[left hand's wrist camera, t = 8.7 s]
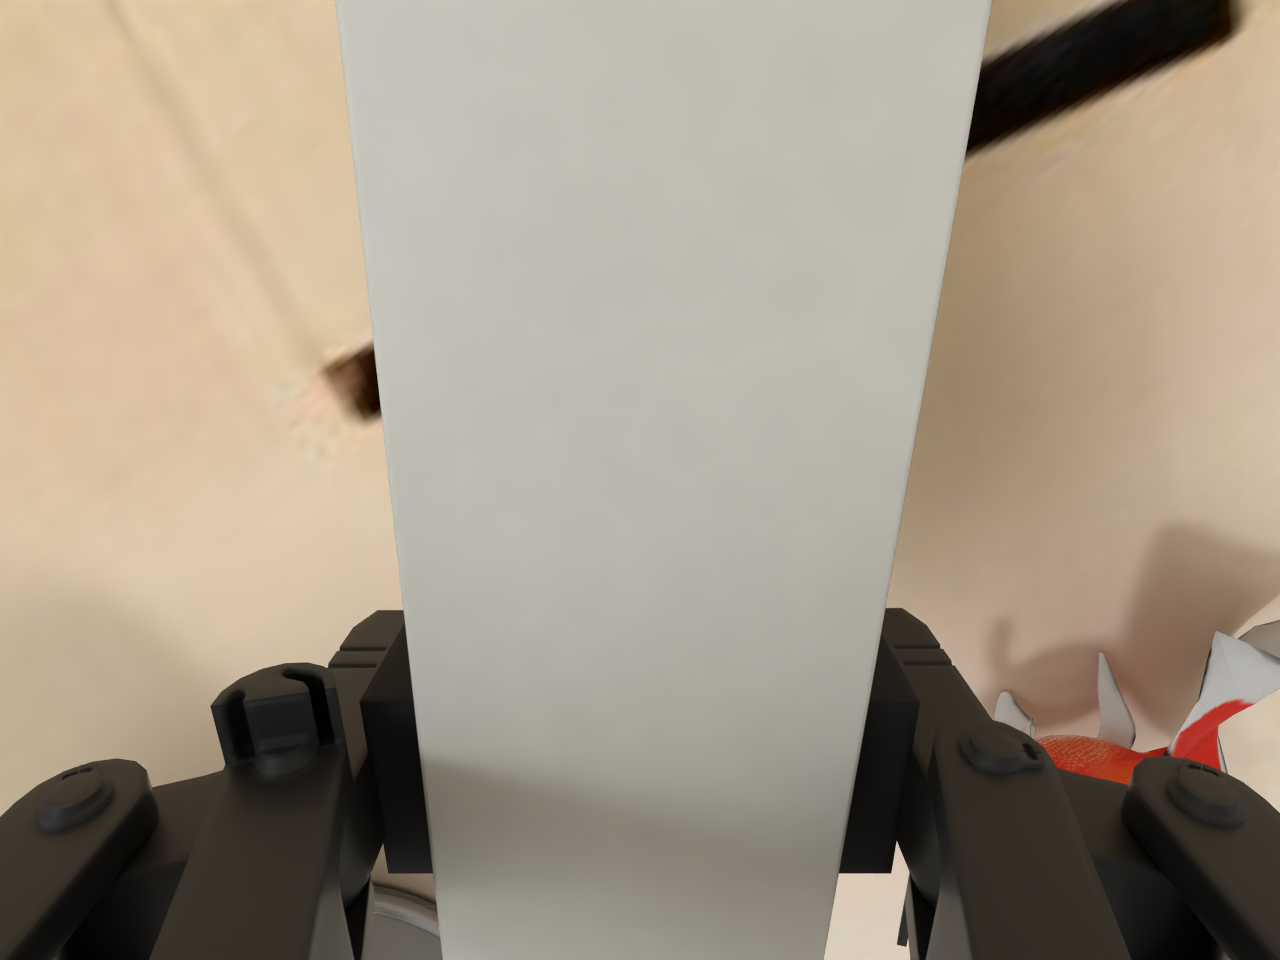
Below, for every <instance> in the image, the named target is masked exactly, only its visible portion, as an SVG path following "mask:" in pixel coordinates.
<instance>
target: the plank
mask: <svg viewBox="0 0 1280 960" xmlns="http://www.w3.org/2000/svg"><path fill="white" fill-rule="evenodd" d="M335 1H336V10H337V19H338V28H339V37H340V46H341V55H342V64H343V73H344V82H345V91H346V100H347V109H348V118H349V127H350V135H351V144H352V153H353V162H354V171H355V180H356V189H357V198H358V207H359V216H360V225H361V234H362V243H363V252H364V261H365V269H366V278H367V287H368V296H369V305H370V314H371V323H372V332H373V341H374V350H375V359H376V368H377V377H378V386H379V395H380V404H381V412H382V421H383V430H384V439H385V448H386V457H387V466H388V475H389V484H390V493H391V502H392V511H393V520H394V529H395V538H396V546H397V555H398V564H399V573H400V582H401V591H402V600H403V609H404V618H405V627H406V636H407V645H408V654H409V663H410V672H411V680H412V689H413V698H414V707H415V716H416V725H417V734H418V743H419V752H420V761H421V770H422V779H423V788H424V797H425V806H426V815H427V823H428V832H429V841H430V850H431V859H432V868H433V877H434V886H435V895H436V904H437V913H438V922H439V931H440V940H441V949H442V957H443V960H824V954H825V948H826V943H827V937H828V931H829V926H830V920H831V914H832V909H833V903H834V897H835V892H836V886H837V880H838V874H839V869H840V863H841V857H842V852H843V846H844V840H845V835H846V829H847V823H848V818H849V812H850V806H851V801H852V795H853V789H854V784H855V778H856V772H857V767H858V761H859V755H860V749H861V744H862V738H863V732H864V727H865V721H866V715H867V710H868V704H869V698H870V693H871V687H872V681H873V676H874V670H875V664H876V659H877V653H878V647H879V641H880V636H881V630H882V624H883V619H884V613H885V607H886V602H887V596H888V590H889V585H890V579H891V573H892V568H893V562H894V556H895V551H896V545H897V539H898V534H899V528H900V522H901V516H902V511H903V505H904V499H905V494H906V488H907V482H908V477H909V471H910V465H911V460H912V454H913V448H914V443H915V437H916V431H917V426H918V420H919V414H920V408H921V403H922V397H923V391H924V386H925V380H926V374H927V369H928V363H929V357H930V352H931V346H932V340H933V335H934V329H935V323H936V318H937V312H938V306H939V301H940V295H941V289H942V283H943V278H944V272H945V266H946V261H947V255H948V249H949V244H950V238H951V232H952V227H953V221H954V215H955V210H956V204H957V198H958V193H959V187H960V181H961V175H962V170H963V164H964V158H965V153H966V147H967V141H968V136H969V130H970V124H971V119H972V113H973V107H974V102H975V96H976V90H977V85H978V79H979V73H980V68H981V62H982V56H983V50H984V45H985V39H986V33H987V28H988V22H989V16H990V11H991V5H992V0H335Z"/></svg>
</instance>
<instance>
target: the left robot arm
mask: <svg viewBox="0 0 1280 960" xmlns="http://www.w3.org/2000/svg"><path fill="white" fill-rule="evenodd" d="M211 710H212V714H213V718H214V722H215V725H216V729H217V733H218V737H219V741H220V745H221V748H222V752H223V756H224V760H225V764H226V765H225V767H224V770H223V771H219V772H216V773H212V774H209V775H206V776H201V777H197V778H193V779H188V780H184V781H179V782H175V783H170V784H166V785H161V786H157V787H152V786H151V783H150V780H149V777H148V774H147V770H146V769H144V768H143V767H142V766H141V765H140V764H138V763H137V762H136V761H130V760H123V759H110V760H103V761H95V762H91V763H88V764H85V765H81V766H79V767H75V768H72V769H69V770H67V771H64V772H62V773H60V774H58V775H56V776H55V777H53V778H51V779H49V780H47V781H45V782H43V783H41V784H39V785H37V786H36V787H35V788H34V789H32V790H31V791H30V792H28V793H27V794H26V795H25V796H23V797H22V798H21V799H19V800H18V801H17V802H16V803H14V804H13V805H12V806H11V807H10V808H9V809H8V810H7V811H6V812H5V813H4V814H3V815H2V816H1V817H0V960H443V957H442V949H441V940H440V931H439V922H438V913H437V905H435V904H433V903H431V902H428V901H426V900H424V899H422V898H419V897H416V896H413V895H411V894H408V893H405V892H401V891H397V890H394V889H390V888H385V887H380V886H374V885H373V884H372V879H371V871H372V869H373V866H374V864H375V861H376V859H377V857H378V854H379V852H380V849H381V847H382V844H384V850H385V856H386V862H387V868H388V873H433V868H432V859H431V850H430V841H429V832H428V823H427V815H426V806H425V797H424V788H423V779H422V770H421V761H420V752H419V743H418V734H417V725H416V716H415V707H414V698H413V689H412V680H411V672H410V663H409V654H408V645H407V636H406V627H405V618H404V610H377V611H376V612H375V613H373V614H372V615H370V616H369V617H368V618H366V619H365V620H363V621H362V622H360V623H359V624H358V625H356V626H355V627H353V629H352V630H351V632H350V633H349V635H348V636H347V638H346V639H345V640H344V642H343V643H342V645H341V646H340V651H337V652H336V653H335V655H334V656H333V658H332V659H331V661H330V662H329V664H328V668H325V667H324V666H319V665H315V664H311V663H285V664H281V665H277V666H272V667H268V668H264V669H261V670H259V671H256V672H254V673H252V674H250V675H247V676H245V677H243V678H240V679H239V680H237V681H236V682H235V683H233V684H232V685H230V686H229V687H227V688H226V689H225V690H223V691H222V692H221V693H220V694H219V696H218V697H217V698H216V700H215V701H214V702H213V703H212V705H211ZM896 841H897V842H898V844H899V847H900V849H901V852H902V854H903V857H904V859H905V862H906V864H907V866H908V869H909V871H910V873H909V879H908V884H907V890H906V895H905V901H904V906H903V912H902V917H901V923H900V928H899V935H898V941H897V945H901V946H905V947H906V945H907V940H908V939H909V949H910V959H911V960H1280V813H1279V812H1278V811H1277V810H1276V809H1275V808H1274V807H1273V806H1272V805H1271V804H1270V803H1269V802H1267V801H1266V800H1265V799H1264V798H1263V797H1261V796H1260V795H1259V794H1258V793H1256V792H1255V791H1254V790H1252V789H1251V788H1250V787H1248V786H1247V785H1246V784H1245V783H1243V782H1242V781H1240V780H1238V779H1236V778H1234V777H1232V776H1230V775H1228V774H1226V773H1224V772H1222V771H1220V770H1219V769H1217V768H1214V767H1211V766H1209V765H1206V764H1202V763H1200V762H1196V761H1193V760H1190V759H1186V758H1178V757H1171V756H1164V755H1163V756H1157V757H1150V758H1144V759H1143V760H1142V761H1141V762H1139V763H1138V764H1137V765H1136V766H1135V767H1134V768H1133V771H1132V775H1131V778H1130V781H1129V784H1128V785H1127V784H1123V783H1118V782H1114V781H1109V780H1105V779H1100V778H1096V777H1092V776H1087V775H1083V774H1078V773H1074V772H1071V771H1067V770H1064V769H1060V768H1057V767H1056V766H1055V763H1054V762H1053V760H1052V759H1051V757H1050V756H1049V754H1048V753H1047V751H1046V750H1045V748H1044V747H1042V746H1041V745H1040V744H1039V743H1037V742H1036V741H1035V740H1034V739H1032V738H1031V737H1030V736H1029V735H1027V734H1026V733H1024V732H1022V731H1020V730H1018V729H1016V728H1014V727H1012V726H1010V725H1008V724H1006V723H1002V722H999V721H995V720H992V719H991V717H990V716H989V715H988V713H987V712H986V710H985V709H984V707H983V706H982V704H981V703H980V702H979V700H978V699H977V697H976V696H975V694H974V693H973V692H972V690H971V689H970V687H969V686H968V684H967V683H966V681H965V680H964V679H963V677H962V676H961V674H960V673H959V671H958V670H957V668H956V667H955V666H952V663H951V660H950V658H949V657H948V656H947V654H946V653H945V651H944V650H943V649H940V644H939V643H938V641H937V640H936V638H935V637H934V635H933V634H932V632H931V631H930V630H929V628H928V627H927V625H925V624H924V623H923V622H921V621H920V620H918V619H917V618H915V617H914V616H913V615H911V614H910V613H908V612H907V611H905V610H904V609H903V608H885V613H884V619H883V624H882V630H881V636H880V641H879V647H878V653H877V659H876V664H875V670H874V676H873V681H872V687H871V693H870V698H869V704H868V710H867V715H866V721H865V727H864V732H863V738H862V744H861V749H860V755H859V761H858V767H857V772H856V778H855V784H854V789H853V795H852V801H851V806H850V812H849V818H848V823H847V829H846V835H845V840H844V846H843V852H842V857H841V863H840V869H839V873H891V871H892V865H893V859H894V853H895V847H896Z"/></svg>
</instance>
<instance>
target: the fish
mask: <svg viewBox="0 0 1280 960" xmlns="http://www.w3.org/2000/svg"><path fill="white" fill-rule="evenodd" d="M1278 689H1280V620H1278V621H1274V622H1270V623H1266V624H1262V625H1258V626H1255V627H1253V628H1252V629H1250V630H1249V631H1248V632H1246V633H1245V634H1244V635H1242V636H1241V637H1239V638H1238V639H1235V638H1233V637H1230V636H1228V635H1225V634H1223V633H1220V632H1218V631H1215V635H1214V638H1213V642H1212V645H1211V649H1210V652H1209V655H1208V659H1207V663H1206V668H1205V672H1204V677H1203V681H1202V685H1201V690H1200V694H1199V699H1198V700H1197V702H1196V704H1195V706H1194V707H1193V709H1192V711H1191V712H1190V714H1189V716H1188V717H1187V719H1186V721H1185V722H1184V724H1183V725H1182V727H1181V728H1180V730H1179V731H1178V733H1177V734H1176V736H1175V737H1174V739H1173V740H1172V742H1171V743H1170V745H1169V746H1168V747H1164V748H1160V749H1156V750H1152V751H1149V752H1146V753H1138V752H1136V751H1133V750H1130V749H1131V747H1132V746H1133V744H1134V741H1135V737H1136V733H1135V725H1134V722H1133V720H1132V717H1131V714H1130V712H1129V710H1128V708H1127V706H1126V704H1125V702H1124V700H1123V697H1122V695H1121V693H1120V691H1119V689H1118V686H1117V684H1116V682H1115V679H1114V677H1113V674H1112V672H1111V669H1110V667H1109V664H1108V661H1107V659H1106V656H1105V654H1103V653H1099V669H1098V700H1099V708H1100V718H1101V726H1100V733H1099V735H1098V737H1097V739H1095V738H1090V737H1085V736H1077V735H1053V736H1046V737H1041V738H1037V739H1035V733H1036V730H1035V725H1034V724H1033V722H1032V720H1033V719H1031V720H1030V718H1029V717H1028V716H1027V715H1026V714H1025V713H1024V712H1023V711H1022V710H1021V708H1020V707H1019V706H1018V704H1017V703H1016V701H1015V700H1014V698H1013V697H1012V695H1011V694H1010V693H1009V692H1007V691H1006V692H1002V693H1001V694H1000V695H999V698H998V701H997V705H996V709H995V713H994V720H995V721H999V722H1002V723H1006V724H1008V725H1010V726H1012V727H1014V728H1016V729H1018V730H1020V731H1022V732H1024V733H1026V734H1027V735H1029V736H1030V737H1031V738H1032V739H1034V740H1035V741H1036V742H1037V743H1039V744H1040V745H1041V746H1042V747H1044V748H1045V750H1046V751H1047V753H1048V754H1049V756H1050V757H1051V759H1052V760H1053V762H1054V763H1055V766H1056V767H1057V768H1060V769H1064V770H1067V771H1071V772H1074V773H1078V774H1083V775H1087V776H1092V777H1096V778H1100V779H1105V780H1109V781H1114V782H1118V783H1123V784H1127V785H1128V784H1129V781H1130V778H1131V775H1132V771H1133V768H1134V767H1135V766H1136V765H1137V764H1138V763H1139V762H1141V761H1142V760H1143V759H1144V758H1150V757H1157V756H1163V755H1164V756H1171V757H1178V758H1186V759H1190V760H1193V761H1196V762H1200V763H1202V764H1206V765H1209V766H1211V767H1214V768H1217V769H1219V770H1220V771H1222V772H1224V773H1226V774H1228V772H1227V768H1226V764H1225V760H1224V756H1223V752H1222V748H1221V744H1220V740H1219V737H1218V725H1219V724H1221V723H1222V722H1224V721H1225V720H1227V719H1228V718H1230V717H1231V716H1232V715H1234V714H1236V713H1238V712H1240V711H1242V710H1244V709H1246V708H1247V707H1249V706H1251V705H1254V704H1255V703H1256V702H1258V701H1259V700H1260V699H1262V698H1264V697H1266V696H1267V695H1269V694H1271V693H1273V692H1274V691H1276V690H1278Z"/></svg>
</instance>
